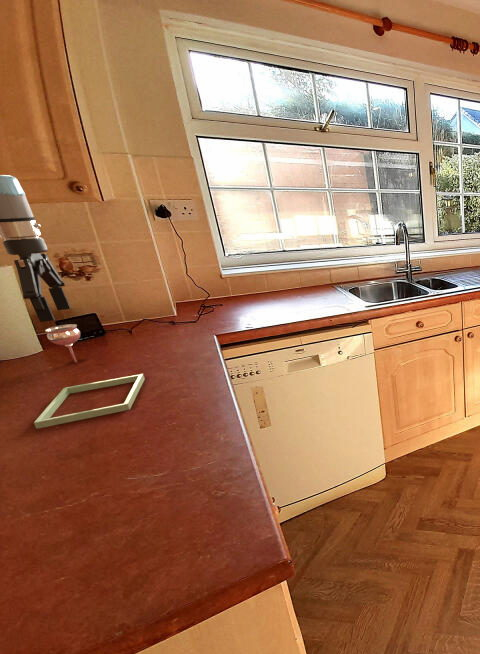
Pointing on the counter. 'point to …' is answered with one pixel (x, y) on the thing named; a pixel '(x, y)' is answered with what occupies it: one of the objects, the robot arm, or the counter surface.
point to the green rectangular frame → (46, 421)
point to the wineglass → (64, 336)
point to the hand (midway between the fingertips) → (56, 315)
